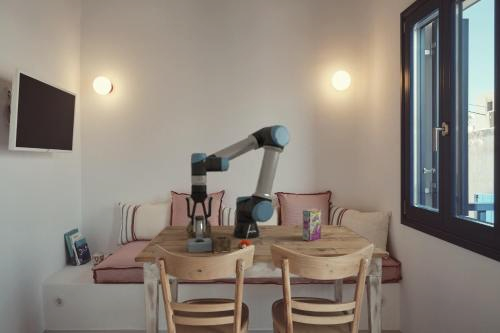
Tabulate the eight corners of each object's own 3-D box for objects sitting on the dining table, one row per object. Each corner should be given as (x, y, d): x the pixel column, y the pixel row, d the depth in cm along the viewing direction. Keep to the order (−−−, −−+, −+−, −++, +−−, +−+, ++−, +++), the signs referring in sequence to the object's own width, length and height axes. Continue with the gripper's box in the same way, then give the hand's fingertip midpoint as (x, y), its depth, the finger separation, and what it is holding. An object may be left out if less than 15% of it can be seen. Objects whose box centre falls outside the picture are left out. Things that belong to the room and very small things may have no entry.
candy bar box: (309, 241, 182) (309, 211, 182) (302, 240, 186) (302, 210, 186) (321, 238, 190) (321, 209, 190) (314, 236, 194) (314, 208, 194)
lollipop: (257, 249, 168) (257, 225, 168) (238, 249, 167) (237, 225, 167) (256, 246, 174) (255, 222, 174) (237, 246, 173) (237, 223, 173)
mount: (227, 247, 171) (227, 235, 171) (230, 251, 163) (230, 239, 163) (211, 248, 169) (211, 236, 169) (214, 253, 161) (214, 240, 161)
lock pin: (203, 244, 171) (203, 215, 170) (204, 247, 167) (204, 216, 166) (194, 245, 170) (194, 215, 169) (195, 247, 166) (195, 217, 165)
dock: (209, 245, 175) (209, 237, 175) (212, 251, 164) (212, 243, 164) (187, 247, 172) (187, 239, 172) (189, 252, 162) (189, 244, 162)
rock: (214, 239, 194) (209, 222, 193) (189, 245, 192) (185, 229, 191) (212, 228, 214) (208, 213, 212) (189, 234, 212) (185, 219, 211)
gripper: (181, 185, 162) (182, 234, 162) (217, 184, 166) (217, 231, 167) (180, 184, 169) (181, 230, 170) (215, 183, 173) (215, 228, 174)
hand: (199, 231), depth 168 cm, fingers closed on lock pin, 4 cm apart
